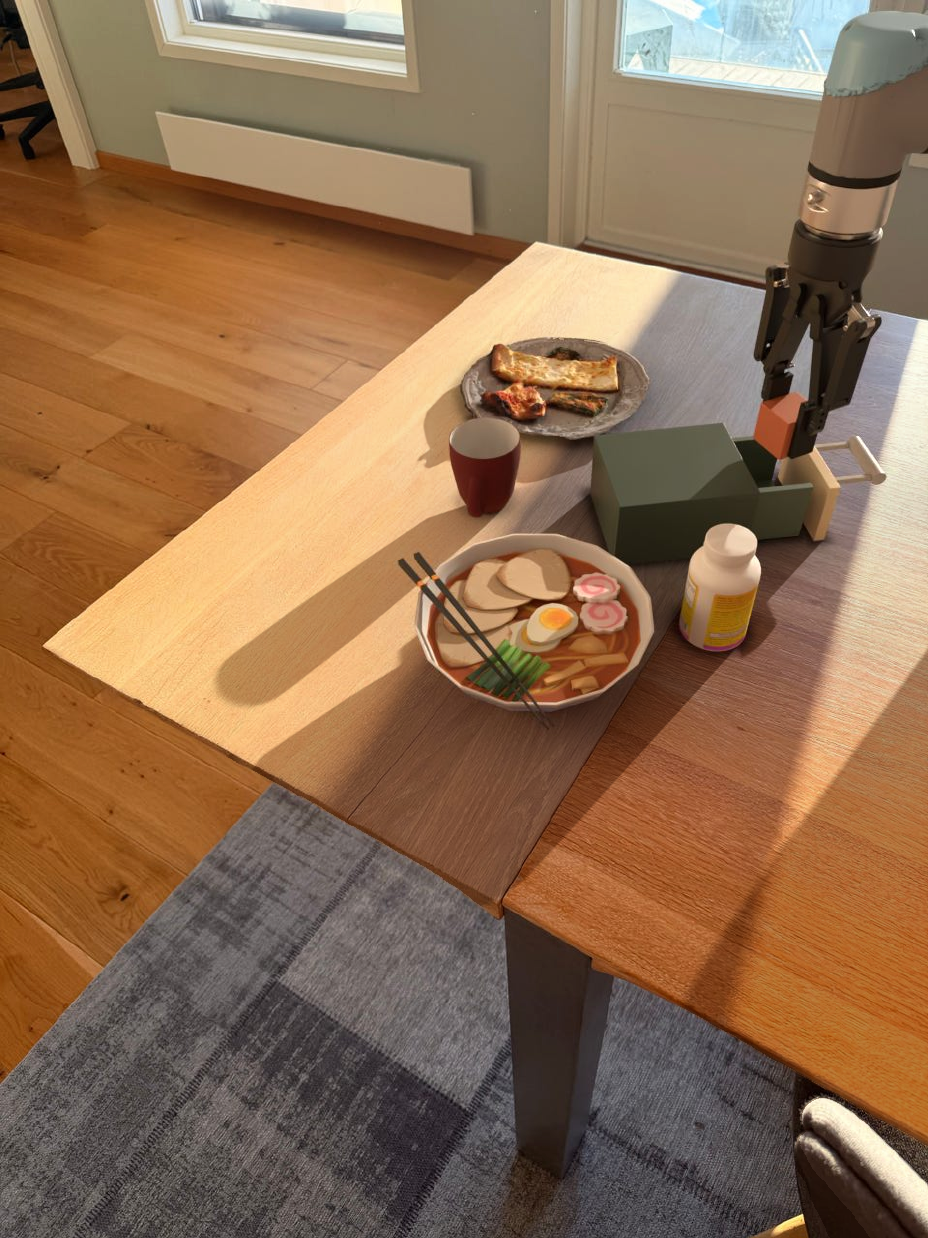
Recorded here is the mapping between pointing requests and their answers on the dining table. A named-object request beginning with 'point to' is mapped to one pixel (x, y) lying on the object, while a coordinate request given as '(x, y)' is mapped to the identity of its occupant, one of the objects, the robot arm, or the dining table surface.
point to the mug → (485, 463)
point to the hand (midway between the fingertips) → (783, 440)
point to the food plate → (556, 386)
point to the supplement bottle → (721, 589)
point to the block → (777, 423)
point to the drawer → (800, 487)
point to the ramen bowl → (532, 620)
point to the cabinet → (668, 490)
